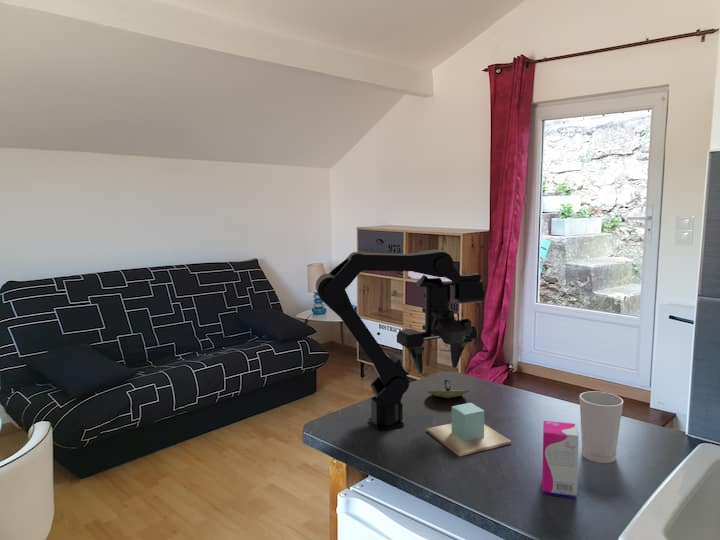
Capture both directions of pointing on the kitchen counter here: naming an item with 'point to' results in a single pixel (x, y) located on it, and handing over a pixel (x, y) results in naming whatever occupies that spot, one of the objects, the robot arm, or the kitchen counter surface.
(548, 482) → the supplement box
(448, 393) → the lid
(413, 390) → the kitchen counter surface
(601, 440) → the cup
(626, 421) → the kitchen counter surface
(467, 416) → the teal block
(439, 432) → the pad
